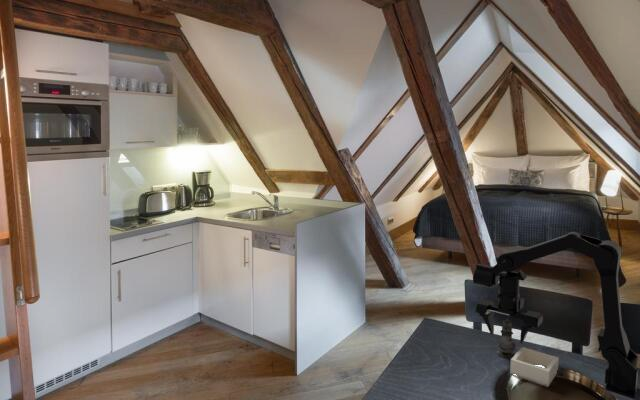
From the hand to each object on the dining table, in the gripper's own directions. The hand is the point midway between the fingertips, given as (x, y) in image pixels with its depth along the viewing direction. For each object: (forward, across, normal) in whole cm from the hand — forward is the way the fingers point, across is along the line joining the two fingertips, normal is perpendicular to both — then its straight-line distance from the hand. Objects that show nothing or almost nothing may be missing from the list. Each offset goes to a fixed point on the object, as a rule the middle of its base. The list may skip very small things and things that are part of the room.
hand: (506, 338), depth 134 cm
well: (+5, -10, +6) cm, 13 cm away
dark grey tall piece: (+5, 0, 0) cm, 5 cm away
